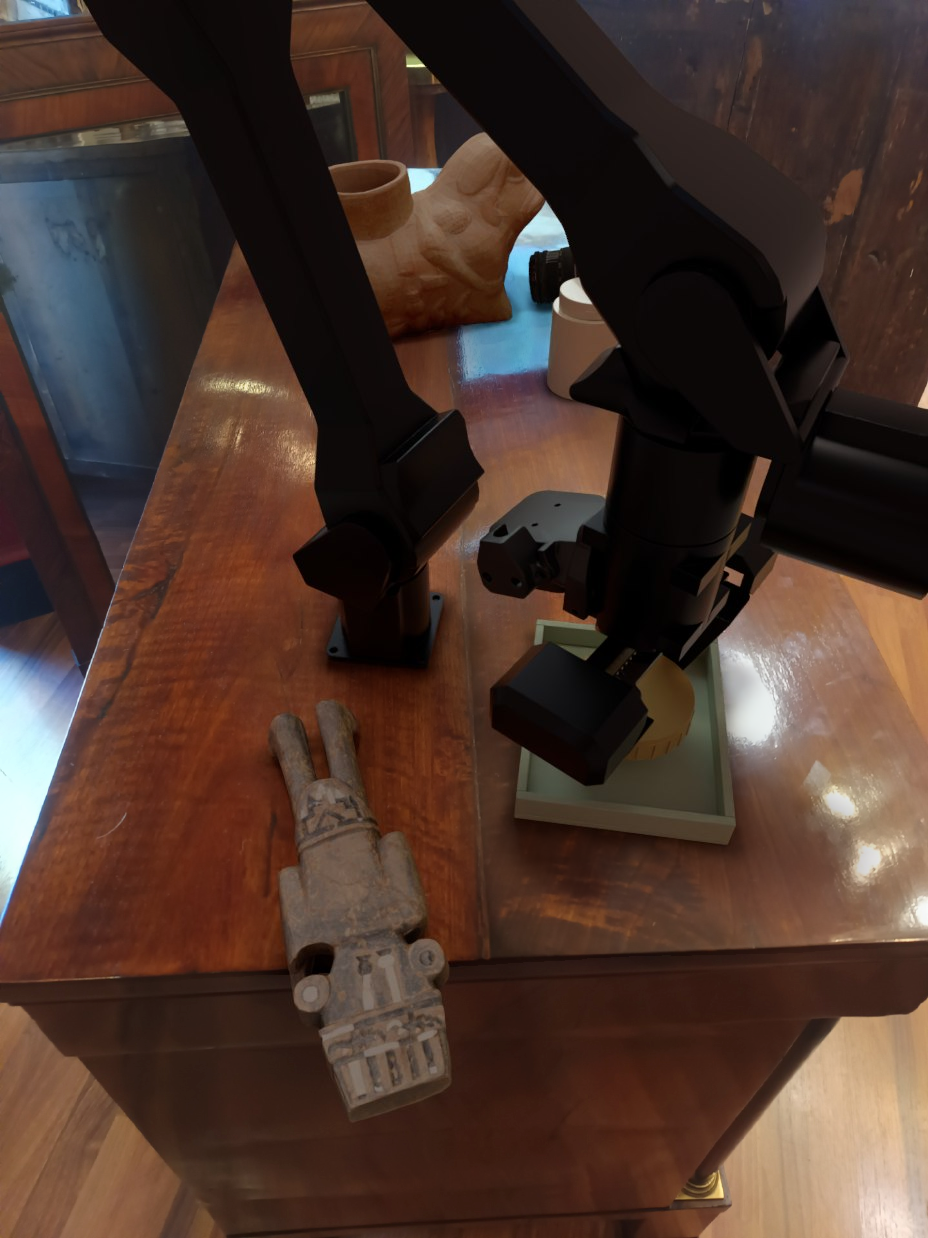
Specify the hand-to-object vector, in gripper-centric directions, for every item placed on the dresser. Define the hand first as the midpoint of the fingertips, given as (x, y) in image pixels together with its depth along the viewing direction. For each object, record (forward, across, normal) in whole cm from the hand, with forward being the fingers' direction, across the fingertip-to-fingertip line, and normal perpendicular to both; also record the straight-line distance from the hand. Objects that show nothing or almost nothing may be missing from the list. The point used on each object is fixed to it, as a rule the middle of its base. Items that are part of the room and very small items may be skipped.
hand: (622, 724), depth 47 cm
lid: (-3, 0, 0) cm, 3 cm away
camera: (+1, -46, -32) cm, 56 cm away
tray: (+1, 0, 0) cm, 1 cm away
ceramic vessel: (+1, -34, -44) cm, 56 cm away
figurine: (-4, +17, -5) cm, 18 cm away
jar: (+1, -32, -23) cm, 39 cm away
